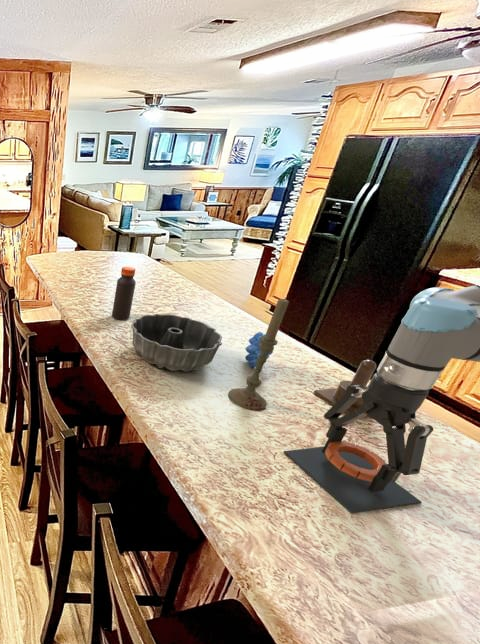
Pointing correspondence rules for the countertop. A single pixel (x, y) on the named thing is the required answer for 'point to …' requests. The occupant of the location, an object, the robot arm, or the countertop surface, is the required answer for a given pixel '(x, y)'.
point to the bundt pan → (175, 341)
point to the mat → (349, 482)
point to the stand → (359, 379)
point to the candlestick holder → (260, 364)
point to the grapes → (254, 349)
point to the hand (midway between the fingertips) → (350, 469)
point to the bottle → (124, 294)
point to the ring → (350, 468)
